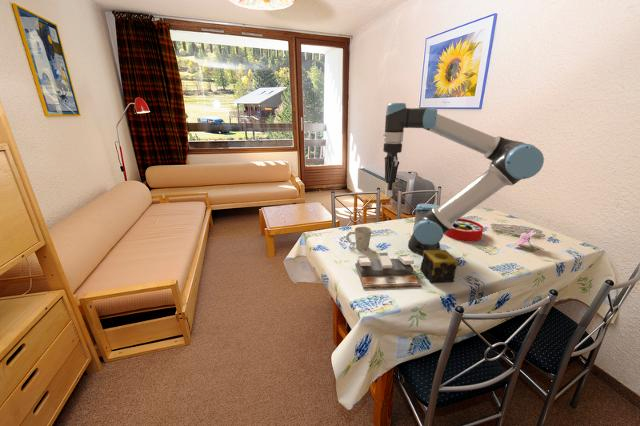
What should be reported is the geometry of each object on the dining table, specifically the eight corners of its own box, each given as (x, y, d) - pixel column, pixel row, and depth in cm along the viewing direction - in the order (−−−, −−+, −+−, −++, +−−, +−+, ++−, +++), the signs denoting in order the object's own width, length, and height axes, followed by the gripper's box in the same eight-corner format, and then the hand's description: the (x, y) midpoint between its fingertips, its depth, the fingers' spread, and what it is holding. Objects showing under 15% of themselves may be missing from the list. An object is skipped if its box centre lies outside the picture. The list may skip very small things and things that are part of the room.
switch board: (405, 263, 126) (405, 256, 124) (421, 286, 109) (422, 279, 108) (355, 265, 124) (355, 258, 123) (363, 289, 108) (364, 281, 106)
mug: (370, 252, 136) (371, 234, 132) (344, 250, 138) (345, 231, 135) (370, 244, 143) (371, 227, 140) (346, 242, 146) (347, 225, 142)
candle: (419, 270, 120) (422, 250, 117) (441, 269, 121) (445, 249, 118) (430, 284, 111) (433, 262, 107) (454, 282, 112) (458, 261, 108)
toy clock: (466, 234, 141) (435, 221, 158) (464, 244, 143) (434, 231, 160) (491, 227, 150) (459, 216, 167) (489, 237, 152) (457, 225, 169)
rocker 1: (366, 261, 121) (366, 256, 121) (371, 267, 113) (371, 261, 113) (357, 261, 121) (357, 256, 121) (361, 267, 113) (361, 262, 113)
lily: (522, 242, 147) (515, 227, 146) (548, 242, 137) (541, 226, 136) (511, 255, 142) (505, 239, 141) (538, 256, 132) (530, 239, 130)
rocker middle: (386, 256, 122) (387, 252, 121) (391, 269, 115) (392, 265, 114) (377, 257, 122) (378, 252, 120) (382, 269, 115) (383, 265, 114)
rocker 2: (406, 260, 122) (406, 254, 122) (413, 266, 114) (413, 260, 114) (397, 260, 122) (397, 254, 122) (404, 266, 114) (404, 260, 114)
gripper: (380, 141, 121) (376, 192, 129) (388, 144, 109) (384, 201, 117) (396, 140, 122) (392, 192, 130) (407, 144, 109) (401, 200, 118)
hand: (388, 196), depth 124 cm, fingers closed
